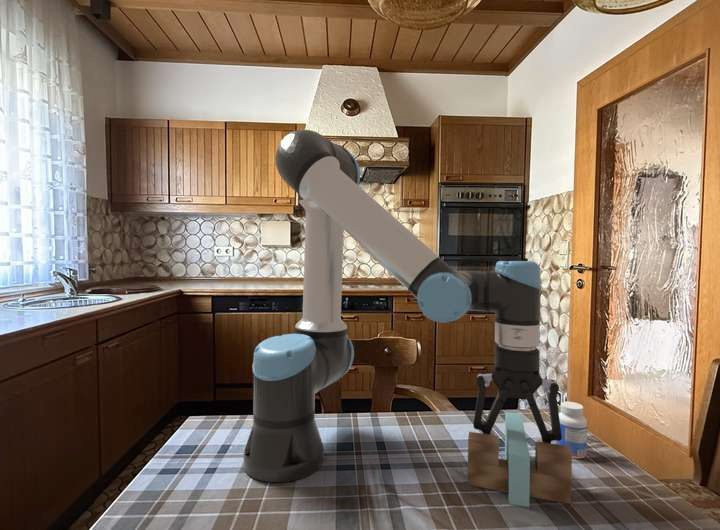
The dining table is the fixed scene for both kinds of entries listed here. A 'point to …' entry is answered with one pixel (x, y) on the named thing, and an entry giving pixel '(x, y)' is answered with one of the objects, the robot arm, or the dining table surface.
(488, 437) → the brown u-shaped block
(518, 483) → the teal bridge block
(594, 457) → the dining table surface
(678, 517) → the dining table surface
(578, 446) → the pill bottle
